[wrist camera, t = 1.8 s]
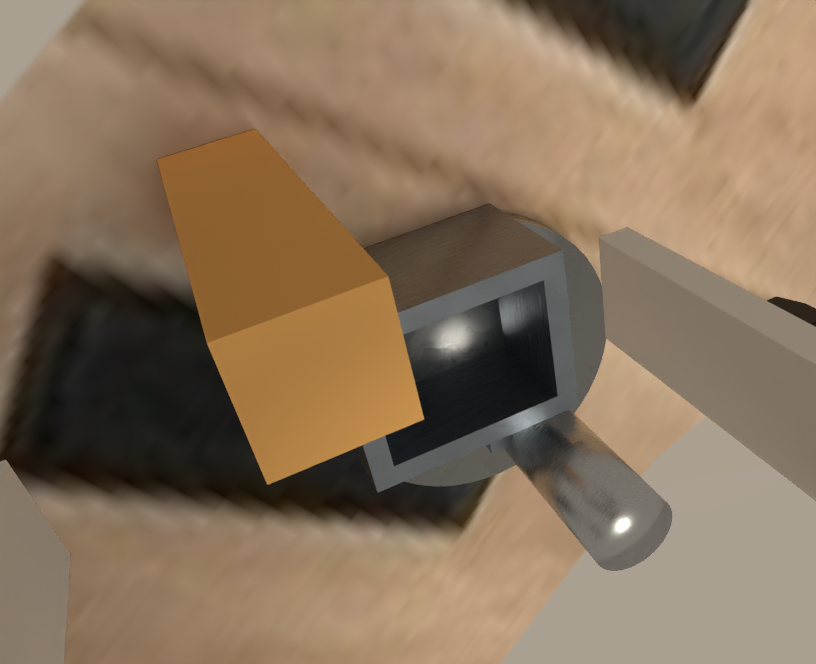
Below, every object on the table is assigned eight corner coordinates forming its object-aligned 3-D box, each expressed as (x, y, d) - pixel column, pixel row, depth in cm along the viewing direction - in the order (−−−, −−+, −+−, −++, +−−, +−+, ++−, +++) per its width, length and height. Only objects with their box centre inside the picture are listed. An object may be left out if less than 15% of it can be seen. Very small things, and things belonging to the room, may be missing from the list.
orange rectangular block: (193, 250, 30) (267, 484, 16) (156, 159, 28) (206, 343, 14) (284, 220, 31) (424, 419, 17) (255, 128, 28) (388, 276, 15)
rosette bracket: (368, 509, 40) (448, 674, 30) (290, 274, 32) (366, 401, 23) (599, 408, 43) (734, 529, 34) (580, 171, 35) (749, 246, 26)
